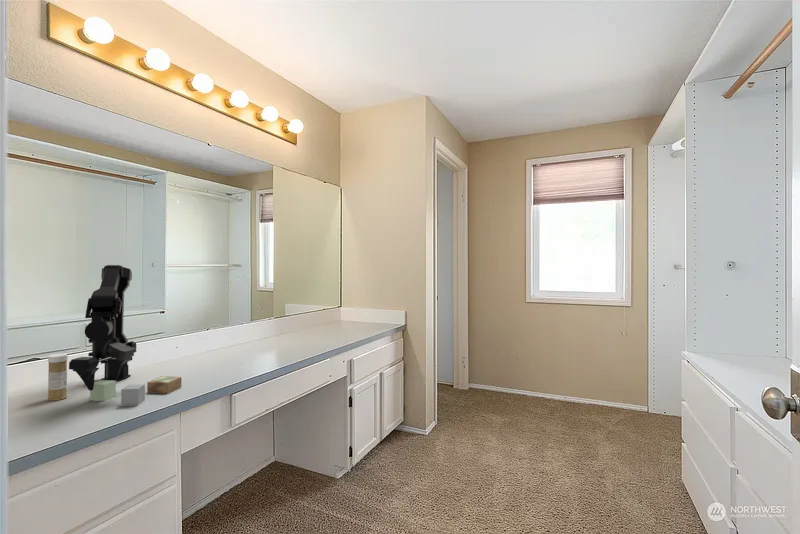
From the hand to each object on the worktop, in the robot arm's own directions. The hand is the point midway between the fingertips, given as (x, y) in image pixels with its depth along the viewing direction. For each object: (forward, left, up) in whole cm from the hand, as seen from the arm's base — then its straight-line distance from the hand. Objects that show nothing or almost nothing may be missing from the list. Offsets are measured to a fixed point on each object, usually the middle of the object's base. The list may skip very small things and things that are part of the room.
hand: (103, 385), depth 125 cm
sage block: (0, 0, -4) cm, 4 cm away
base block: (+13, +10, -4) cm, 17 cm away
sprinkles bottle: (-13, -2, -4) cm, 14 cm away
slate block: (+12, -3, -4) cm, 13 cm away
